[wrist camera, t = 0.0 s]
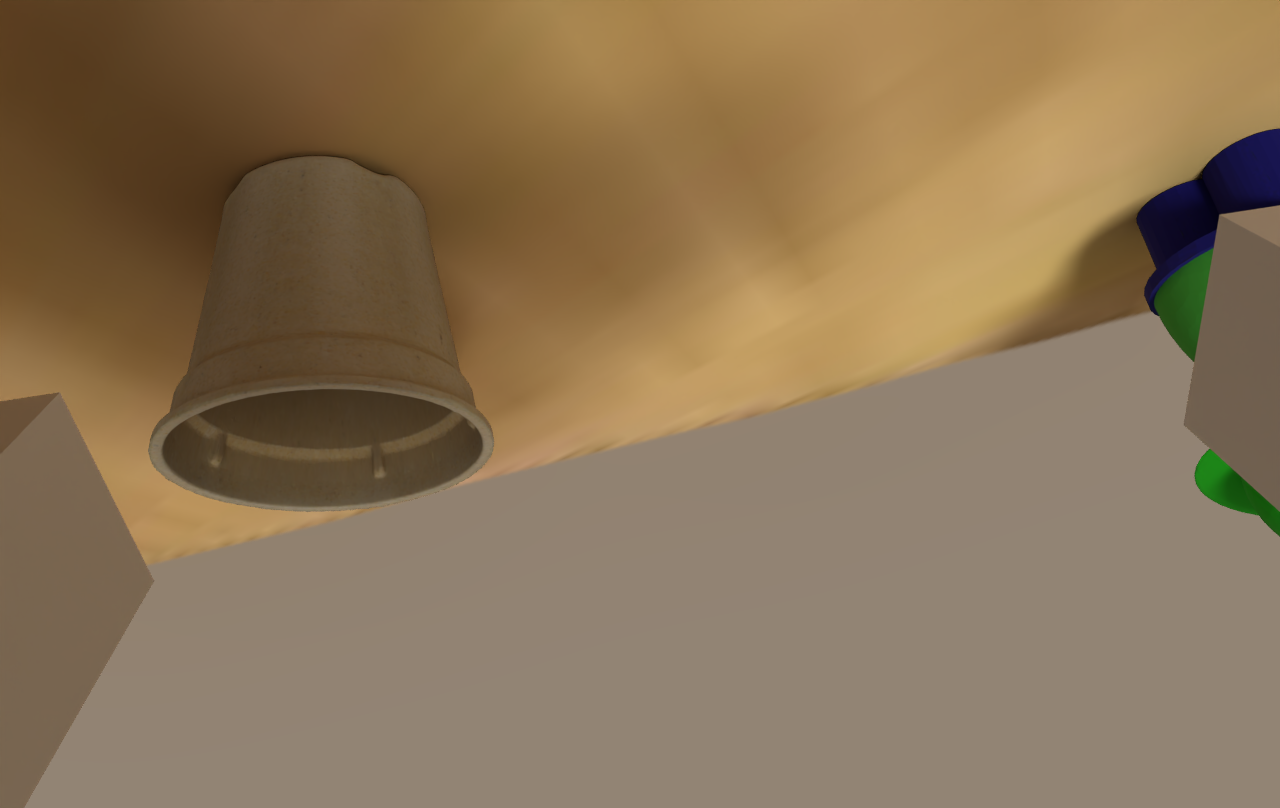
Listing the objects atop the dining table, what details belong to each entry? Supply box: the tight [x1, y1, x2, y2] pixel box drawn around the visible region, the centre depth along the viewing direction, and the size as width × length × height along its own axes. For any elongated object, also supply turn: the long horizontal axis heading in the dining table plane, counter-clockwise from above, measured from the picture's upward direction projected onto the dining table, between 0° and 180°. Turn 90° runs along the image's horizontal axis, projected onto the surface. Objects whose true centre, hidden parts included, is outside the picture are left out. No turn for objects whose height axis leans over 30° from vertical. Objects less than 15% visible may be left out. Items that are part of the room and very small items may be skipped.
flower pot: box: [148, 156, 494, 512], centre depth 30 cm, size 9×9×9 cm
